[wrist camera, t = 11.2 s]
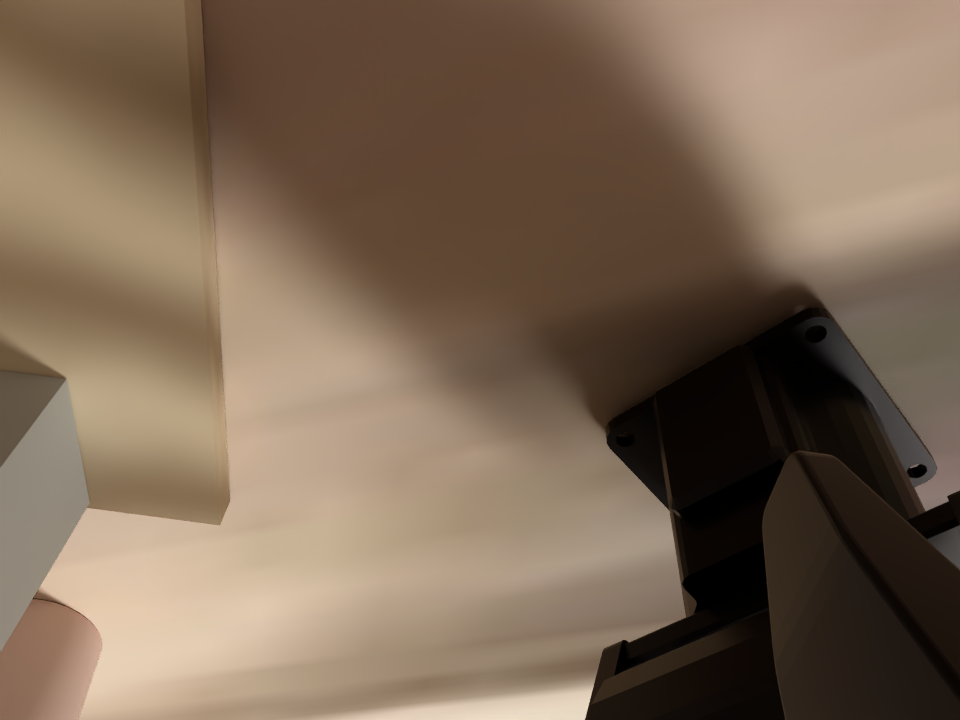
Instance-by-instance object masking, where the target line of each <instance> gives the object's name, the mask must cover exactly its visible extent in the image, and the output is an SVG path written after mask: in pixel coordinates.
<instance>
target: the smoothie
mask: <svg viewBox="0 0 960 720" xmlns="http://www.w3.org/2000/svg"><path fill="white" fill-rule="evenodd" d="M101 651H102V639H101V636H100V634H99V632H98V631H97V629H96V628H95V627H94V625H93V624H92V623H91V622H90V621H89V620H87V619H86V618H85V617H84V616H82V615H81V614H79V613H77V612H76V611H74V610H72V609H70V608H68V607H65V606H63V605H60V604H57V603H54V602H50V601H45V600H38V599H32V600H31V602H30V604H29V606H28V607H27V609H26V611H25V612H24V614H23V616H22V617H21V619H20V621H19V622H18V624H17V626H16V627H15V629H14V631H13V632H12V634H11V636H10V637H9V639H8V641H7V642H6V644H5V646H4V647H3V649H2V651H1V652H0V720H79V717H80V714H81V711H82V708H83V705H84V702H85V699H86V696H87V693H88V690H89V687H90V684H91V681H92V678H93V675H94V672H95V669H96V666H97V663H98V660H99V657H100V654H101Z"/></svg>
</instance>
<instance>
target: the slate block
mask: <svg viewBox="0 0 960 720" xmlns="http://www.w3.org/2000/svg"><path fill="white" fill-rule="evenodd" d="M89 503H90V502H89V496H88V491H87V486H86V480H85V475H84V469H83V464H82V459H81V453H80V448H79V443H78V437H77V432H76V426H75V421H74V416H73V410H72V405H71V399H70V394H69V389H68V383H67V379H63V378H55V377H48V376H40V375H33V374H26V373H18V372H11V371H3V370H0V652H1V651H2V649H3V647H4V646H5V644H6V642H7V641H8V639H9V637H10V636H11V634H12V632H13V631H14V629H15V627H16V626H17V624H18V622H19V621H20V619H21V617H22V616H23V614H24V612H25V611H26V609H27V607H28V606H29V604H30V602H31V600H32V599H33V597H34V595H35V594H36V592H37V590H38V589H39V587H40V585H41V584H42V582H43V580H44V579H45V577H46V575H47V574H48V572H49V570H50V569H51V567H52V565H53V564H54V562H55V560H56V559H57V557H58V555H59V554H60V552H61V550H62V549H63V547H64V545H65V544H66V542H67V540H68V538H69V537H70V535H71V533H72V532H73V530H74V528H75V527H76V525H77V523H78V522H79V520H80V518H81V517H82V515H83V513H84V512H85V510H86V508H87V507H88V505H89Z"/></svg>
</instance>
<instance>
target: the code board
mask: <svg viewBox="0 0 960 720" xmlns="http://www.w3.org/2000/svg"><path fill="white" fill-rule="evenodd" d="M0 370H3V371H11V372H18V373H26V374H33V375H40V376H48V377H55V378H63V379H67V383H68V389H69V394H70V399H71V405H72V410H73V416H74V421H75V426H76V432H77V437H78V443H79V448H80V453H81V459H82V464H83V469H84V475H85V480H86V486H87V491H88V496H89V502H90V503H89V505H88V507H87V508H93V509H101V510H108V511H116V512H123V513H131V514H139V515H146V516H154V517H161V518H169V519H176V520H184V521H191V522H199V523H206V524H214V525H220V524H221V521H222V519H223V517H224V514H225V512H226V509H227V507H228V505H229V502H230V493H229V476H228V458H227V441H226V424H225V406H224V389H223V372H222V354H221V337H220V320H219V302H218V285H217V268H216V250H215V233H214V216H213V198H212V181H211V164H210V146H209V129H208V112H207V94H206V77H205V60H204V42H203V25H202V8H201V0H0Z"/></svg>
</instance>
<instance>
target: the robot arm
mask: <svg viewBox="0 0 960 720" xmlns="http://www.w3.org/2000/svg"><path fill="white" fill-rule="evenodd" d="M815 325H820V326H822V328H821V329H820V330H819V331H818V332H816V333H813V334H807V333H806V331H807V330H808V329H809V328H810V327H812V326H815ZM624 432H627V433H631V434H632V435H631V436H629V437H620V436H618V435H619V434H621V433H624ZM606 437H607V444H608V446H609V447H610V449H611V450H612V451H613V452H614V453H615V454H616V455H617V456H618V457H619V458H620V459H621V460H622V461H623V462H624V463H625V465H626V466H627V467H628V468H629V469H630V470H631V471H632V472H633V473H634V474H635V475H636V476H637V477H638V478H639V479H640V480H641V481H642V482H643V483H644V484H645V485H646V487H647V488H648V489H649V490H650V491H651V492H652V493H653V494H654V495H655V496H656V497H657V498H658V499H659V500H660V501H661V502H662V503H663V504H664V505H665V506H666V507H667V508H668V510H669V511H670V517H671V523H672V530H673V536H674V542H675V549H676V555H677V562H678V568H679V575H680V581H681V588H682V594H683V600H684V607H685V613H686V618H683V619H681V620H679V621H677V622H674V623H672V624H670V625H668V626H665V627H663V628H661V629H659V630H656V631H654V632H652V633H649V634H647V635H645V636H643V637H640V638H638V639H636V640H634V641H631V642H627V641H626V640H622V641H620V642H618V643H616V644H613V645H611V646H609V647H607V648H604V650H603V652H602V656H601V660H600V664H599V668H598V672H597V676H596V679H595V683H594V687H593V691H592V695H591V699H590V703H589V707H588V711H587V715H586V718H585V720H960V491H958V492H955V493H953V494H951V495H949V496H947V497H948V500H949V501H948V502H946V503H944V504H942V505H939V506H937V507H935V508H933V509H930V510H928V511H925V509H924V507H923V505H922V503H921V501H920V499H919V497H918V495H917V492H916V490H915V488H914V487H916V486H918V485H921V484H923V483H925V482H927V481H928V480H930V479H931V478H932V477H933V476H934V475H935V473H936V470H937V466H936V463H935V461H934V459H933V457H932V456H931V454H930V452H929V451H928V449H927V448H926V446H925V445H924V444H923V442H922V441H921V439H920V438H919V437H918V435H917V434H916V432H915V431H914V430H913V428H912V427H911V425H910V424H909V423H908V421H907V420H906V419H905V417H904V416H903V414H902V413H901V412H900V410H899V409H898V407H897V406H896V405H895V403H894V402H893V400H892V399H891V398H890V396H889V395H888V393H887V392H886V391H885V389H884V388H883V386H882V385H881V384H880V382H879V381H878V379H877V378H876V377H875V375H874V374H873V373H872V371H871V370H870V368H869V367H868V366H867V364H866V363H865V361H864V360H863V359H862V357H861V356H860V354H859V353H858V352H857V350H856V349H855V347H854V346H853V345H852V343H851V342H850V340H849V339H848V338H847V336H846V335H845V333H844V332H843V331H842V329H841V328H840V326H839V325H838V324H837V322H836V321H835V320H834V318H833V317H832V315H831V314H830V313H829V312H827V311H826V310H824V309H821V308H809V309H807V310H804V311H802V312H800V313H798V314H796V315H795V316H793V317H791V318H789V319H787V320H786V321H784V322H782V323H780V324H779V325H777V326H775V327H773V328H772V329H770V330H768V331H766V332H765V333H763V334H761V335H759V336H758V337H756V338H754V339H752V340H751V341H749V342H747V343H745V344H744V345H742V346H737V347H735V348H733V349H731V350H729V351H728V352H726V353H724V354H722V355H721V356H719V357H717V358H715V359H714V360H712V361H710V362H708V363H707V364H705V365H703V366H701V367H700V368H698V369H696V370H694V371H693V372H691V373H689V374H687V375H686V376H684V377H682V378H680V379H679V380H677V381H675V382H673V383H672V384H670V385H668V386H666V387H665V388H663V389H661V390H659V391H658V392H657V393H656V395H654V396H652V397H651V398H649V399H647V400H645V401H644V402H642V403H640V404H638V405H637V406H635V407H633V408H631V409H630V410H628V411H626V412H624V413H623V414H621V415H619V416H617V417H616V418H614V419H613V420H611V421H610V422H609V423H608V425H607V427H606ZM916 464H920V465H918V466H917V467H914V468H910V467H911V466H912V465H916Z"/></svg>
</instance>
